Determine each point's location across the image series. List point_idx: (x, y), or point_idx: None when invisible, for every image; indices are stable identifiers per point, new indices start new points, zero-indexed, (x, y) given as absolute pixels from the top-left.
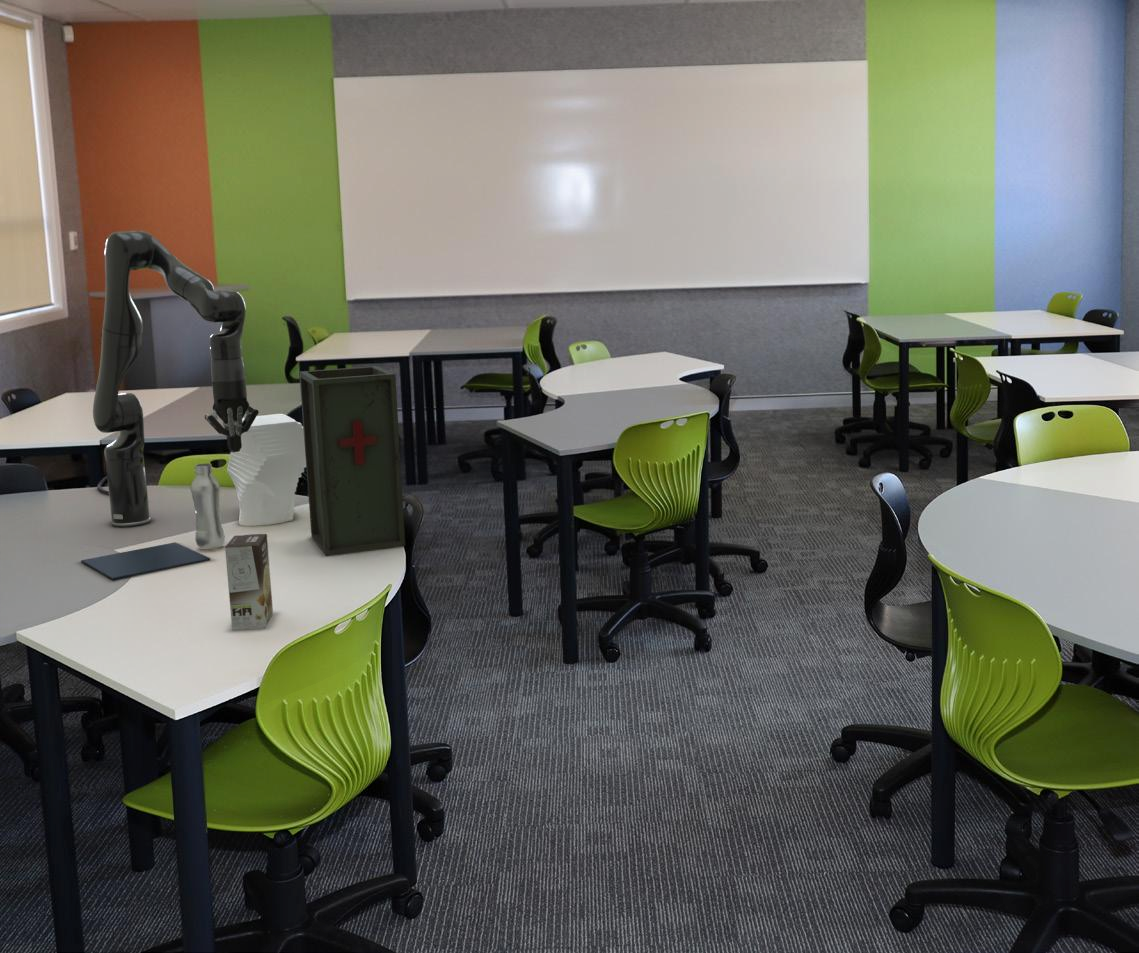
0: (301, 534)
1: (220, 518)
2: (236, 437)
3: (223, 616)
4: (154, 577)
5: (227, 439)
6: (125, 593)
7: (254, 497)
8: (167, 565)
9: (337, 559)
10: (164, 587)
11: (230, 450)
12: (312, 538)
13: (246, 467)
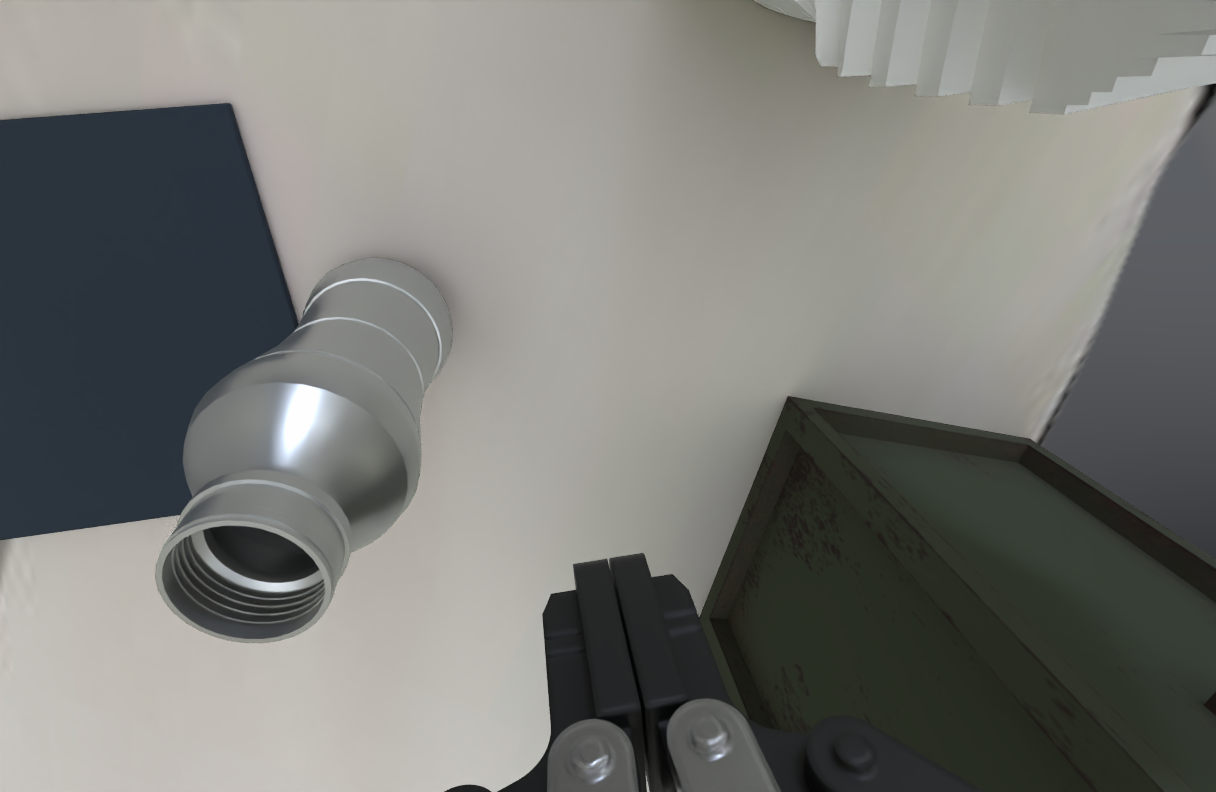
0: (789, 322)
1: (427, 385)
2: (654, 781)
3: None
4: (110, 578)
5: (550, 713)
6: (5, 691)
7: None
8: (161, 500)
9: None
10: (146, 688)
11: (574, 566)
12: (781, 414)
13: None
